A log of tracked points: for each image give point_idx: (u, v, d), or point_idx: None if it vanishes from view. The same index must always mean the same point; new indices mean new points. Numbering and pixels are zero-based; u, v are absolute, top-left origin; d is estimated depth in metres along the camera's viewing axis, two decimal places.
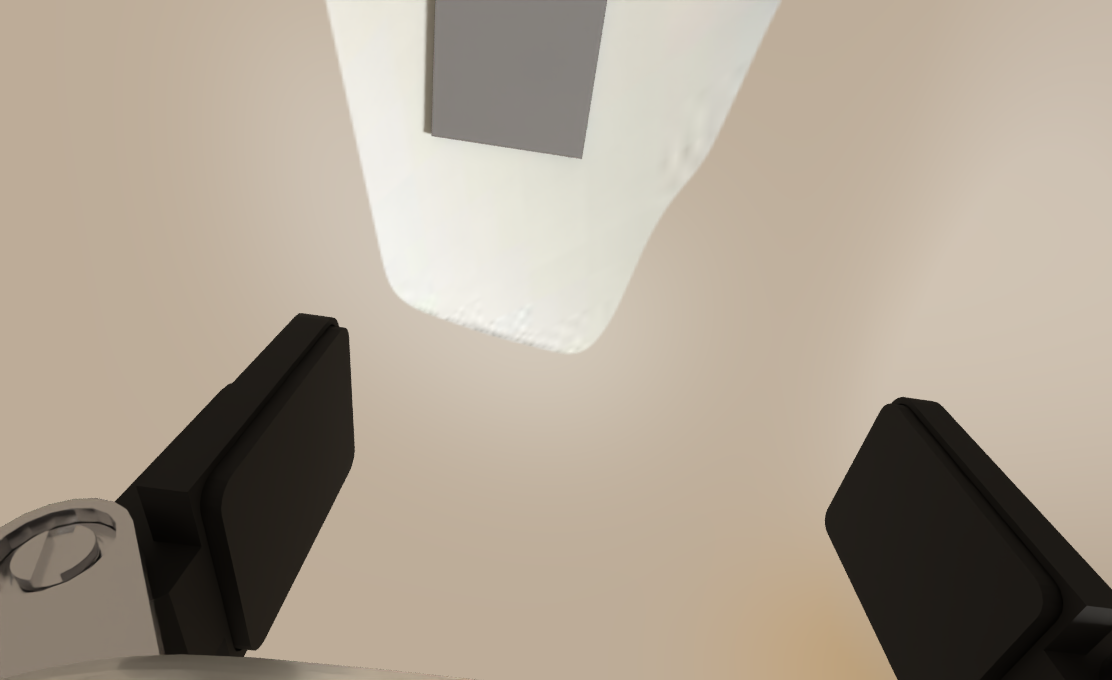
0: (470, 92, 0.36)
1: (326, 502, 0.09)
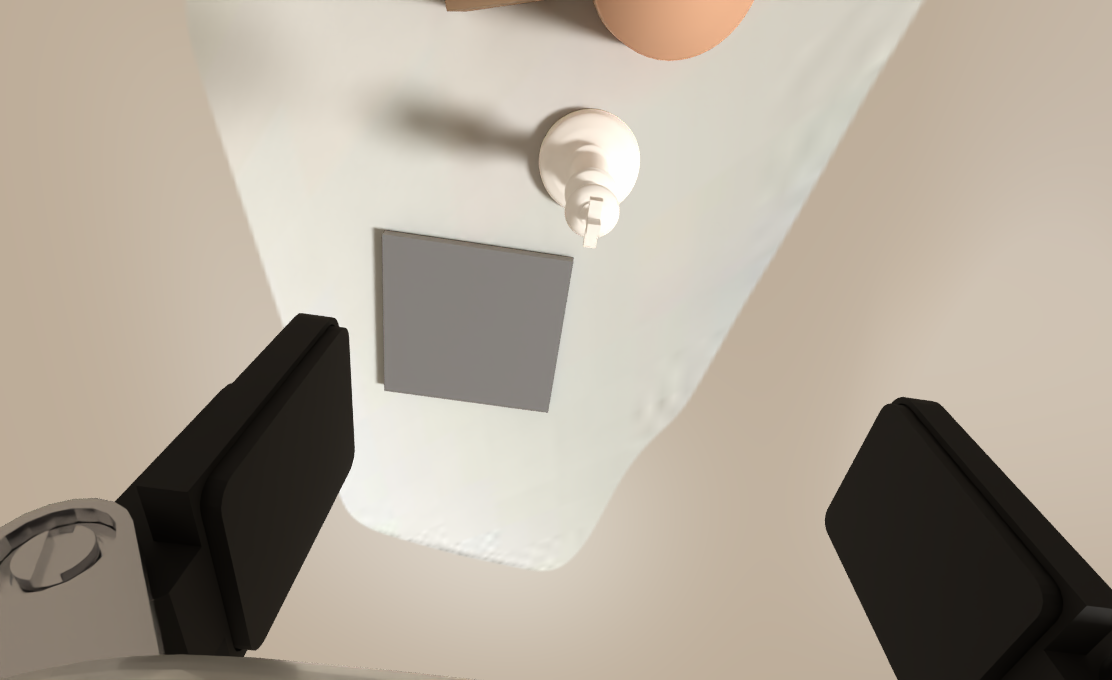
0: (424, 354, 0.33)
1: (326, 502, 0.09)
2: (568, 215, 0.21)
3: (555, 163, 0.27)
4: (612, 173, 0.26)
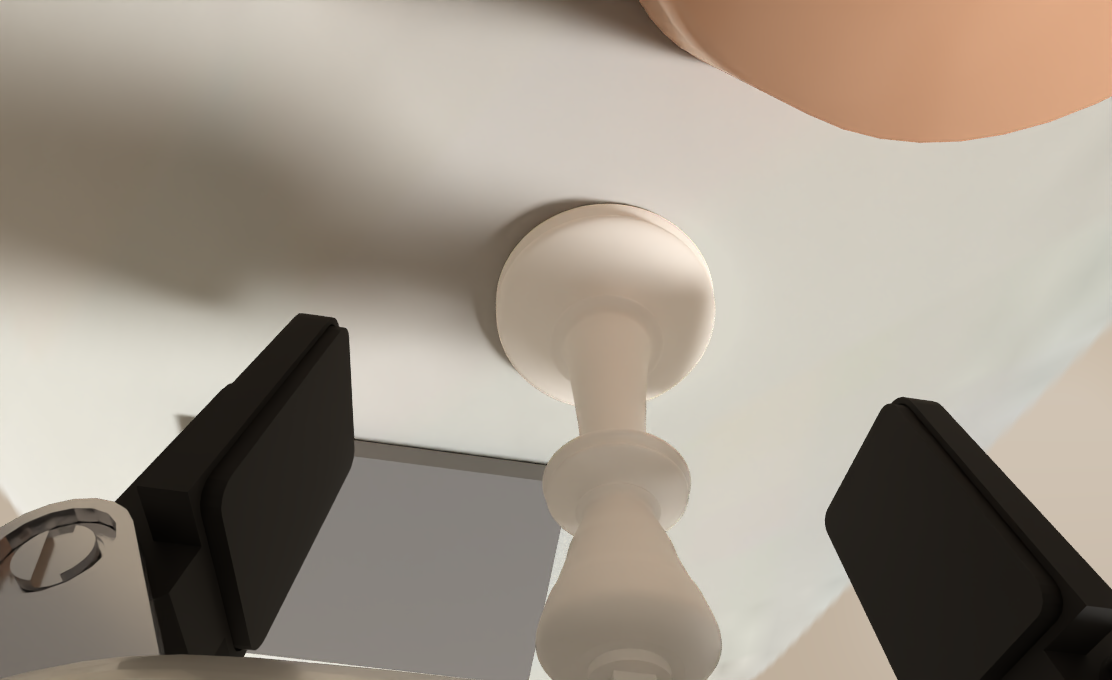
0: (304, 608, 0.18)
1: (326, 502, 0.09)
2: (547, 666, 0.06)
3: (529, 322, 0.12)
4: (658, 352, 0.12)
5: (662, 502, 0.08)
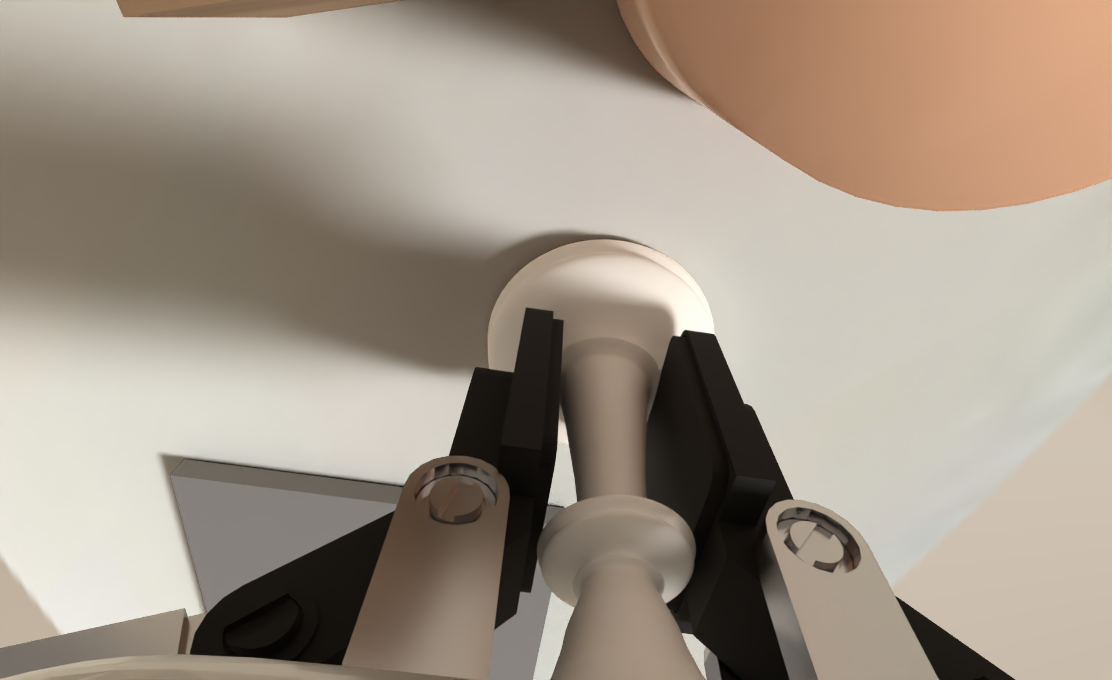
0: None
1: None
2: None
3: None
4: None
5: (666, 573, 0.07)
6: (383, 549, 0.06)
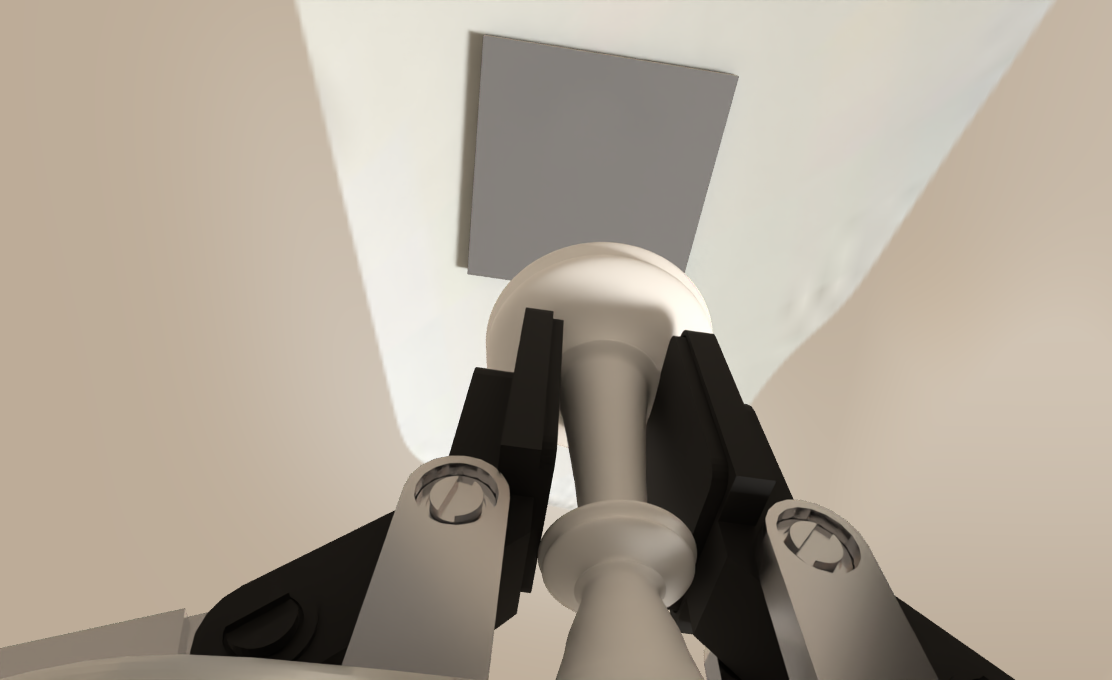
0: (524, 220, 0.25)
1: None
2: None
3: None
4: None
5: (667, 577, 0.07)
6: (383, 549, 0.06)
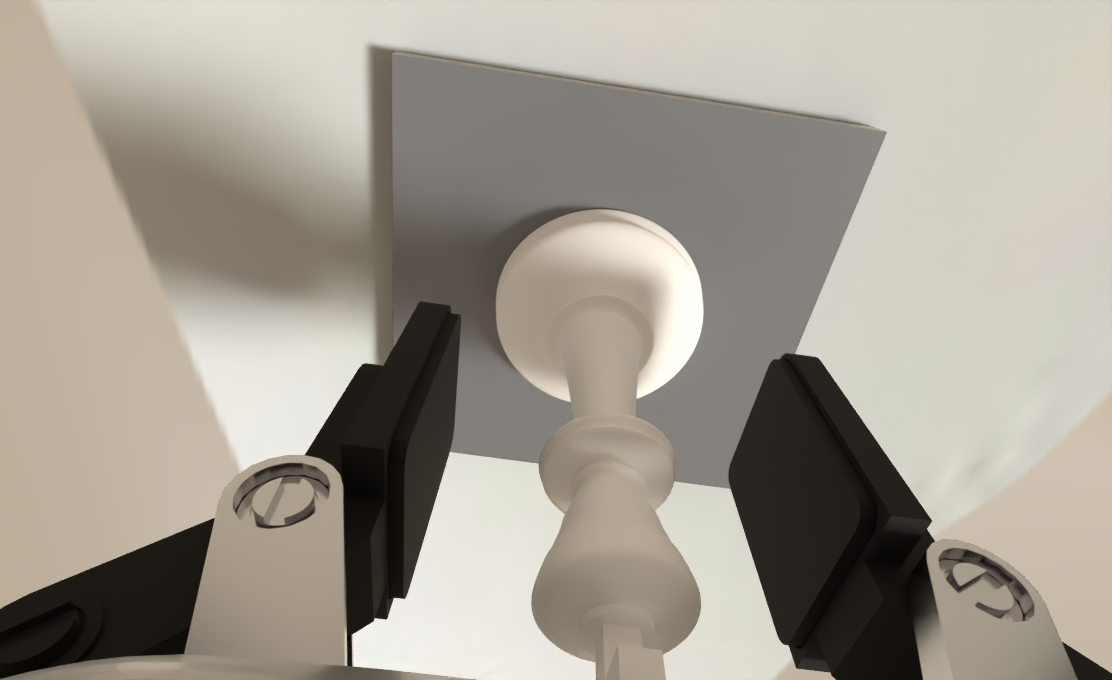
0: (485, 368, 0.15)
1: (440, 474, 0.10)
2: (542, 621, 0.07)
3: (528, 318, 0.13)
4: (648, 350, 0.12)
5: (649, 482, 0.08)
6: (204, 572, 0.05)
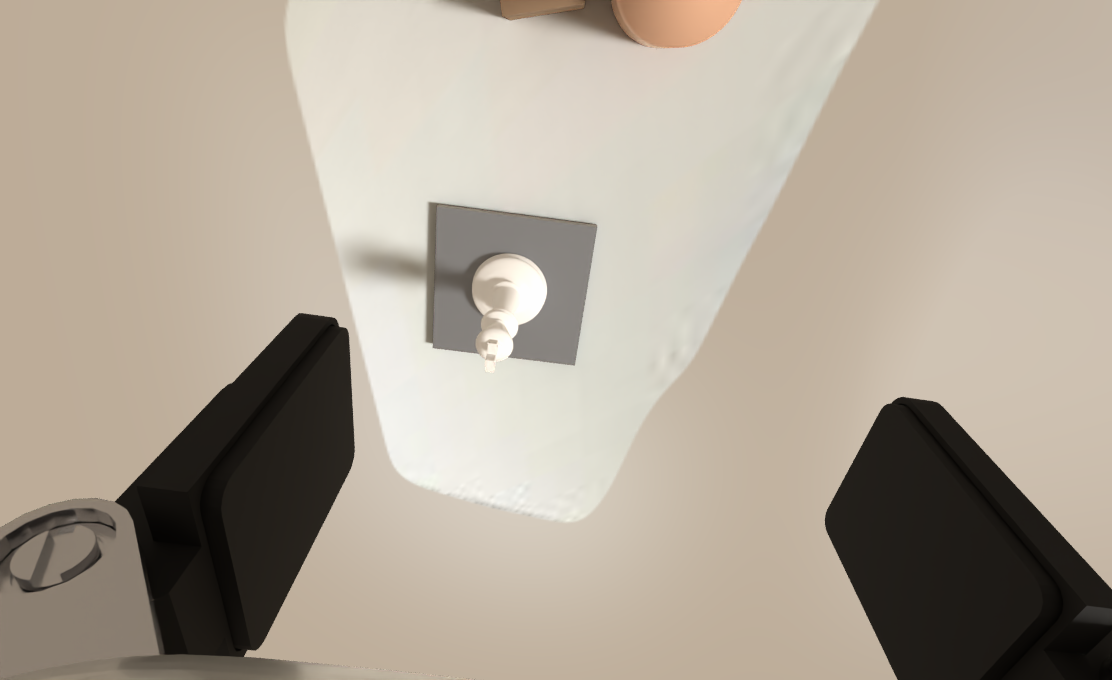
0: (469, 313, 0.38)
1: (326, 502, 0.09)
2: (477, 347, 0.30)
3: (482, 291, 0.36)
4: (523, 301, 0.36)
5: (509, 327, 0.32)
6: None
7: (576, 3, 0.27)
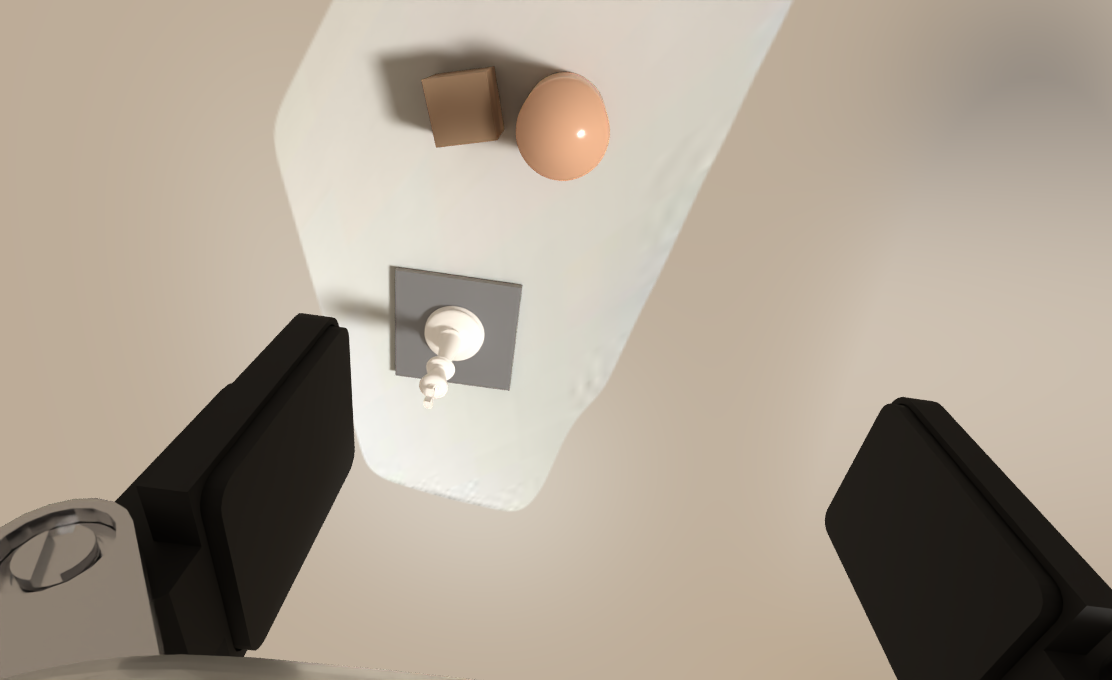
0: (423, 349, 0.48)
1: (326, 502, 0.09)
2: (420, 388, 0.40)
3: (432, 335, 0.46)
4: (464, 344, 0.45)
5: (447, 370, 0.42)
6: None
7: (491, 140, 0.36)
